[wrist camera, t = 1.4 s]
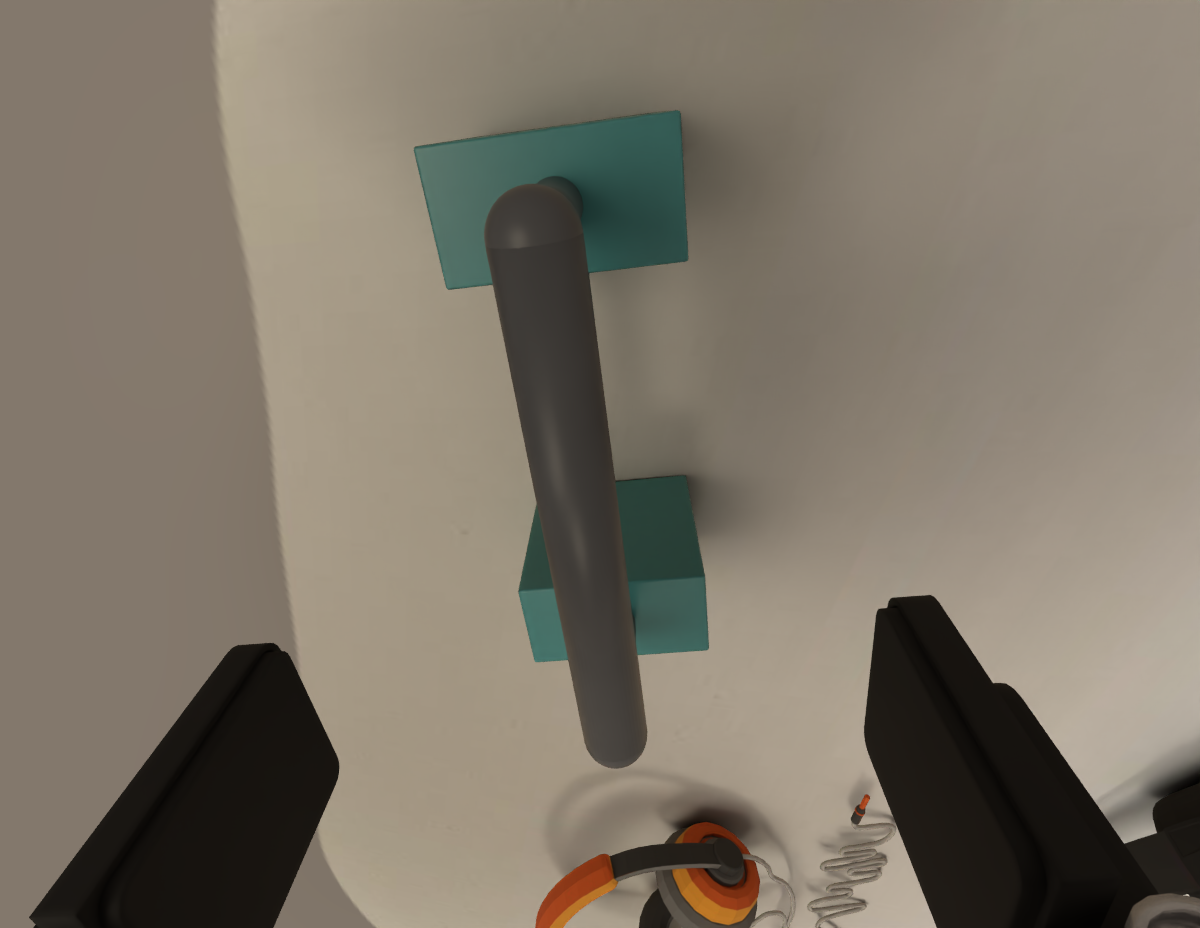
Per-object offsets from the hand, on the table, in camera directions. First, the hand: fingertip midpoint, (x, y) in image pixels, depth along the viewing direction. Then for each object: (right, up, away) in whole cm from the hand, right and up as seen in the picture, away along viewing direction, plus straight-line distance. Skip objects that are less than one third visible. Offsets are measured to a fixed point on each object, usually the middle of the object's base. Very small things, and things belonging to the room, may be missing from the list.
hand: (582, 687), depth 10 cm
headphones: (+7, -19, +26) cm, 33 cm away
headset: (0, +7, +12) cm, 14 cm away
